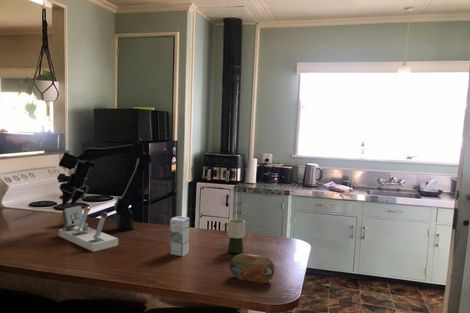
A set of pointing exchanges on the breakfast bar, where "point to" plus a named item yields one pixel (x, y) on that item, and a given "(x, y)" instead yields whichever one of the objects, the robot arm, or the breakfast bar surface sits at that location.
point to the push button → (85, 226)
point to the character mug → (236, 235)
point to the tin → (252, 268)
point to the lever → (100, 226)
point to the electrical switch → (72, 215)
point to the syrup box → (179, 236)
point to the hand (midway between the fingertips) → (67, 205)
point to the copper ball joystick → (83, 219)
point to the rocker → (69, 226)
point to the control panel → (88, 238)
